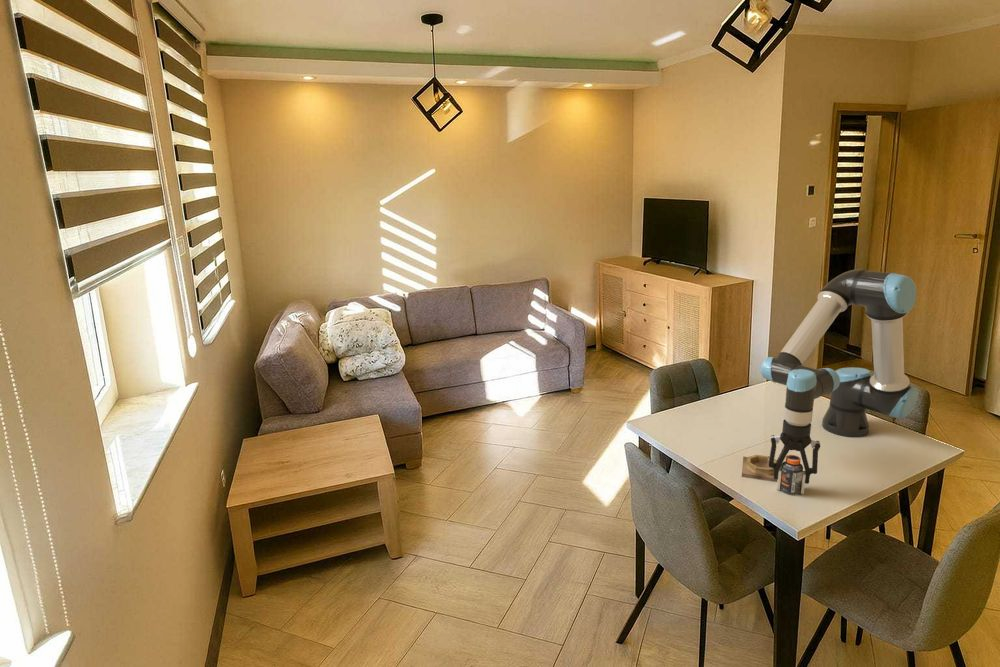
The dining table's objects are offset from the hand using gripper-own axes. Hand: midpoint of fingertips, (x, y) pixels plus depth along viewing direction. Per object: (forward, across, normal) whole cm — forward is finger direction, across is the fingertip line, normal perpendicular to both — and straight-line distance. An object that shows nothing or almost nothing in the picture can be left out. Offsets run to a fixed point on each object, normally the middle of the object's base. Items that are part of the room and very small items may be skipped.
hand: (790, 489), depth 187 cm
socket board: (0, +8, -10) cm, 13 cm away
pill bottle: (0, 0, 0) cm, 1 cm away
